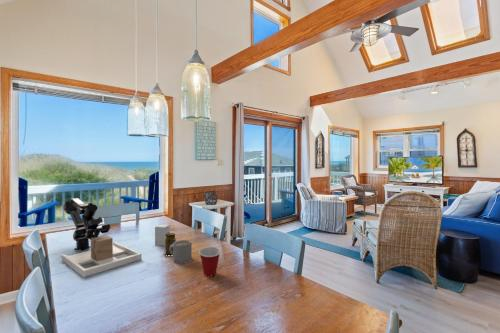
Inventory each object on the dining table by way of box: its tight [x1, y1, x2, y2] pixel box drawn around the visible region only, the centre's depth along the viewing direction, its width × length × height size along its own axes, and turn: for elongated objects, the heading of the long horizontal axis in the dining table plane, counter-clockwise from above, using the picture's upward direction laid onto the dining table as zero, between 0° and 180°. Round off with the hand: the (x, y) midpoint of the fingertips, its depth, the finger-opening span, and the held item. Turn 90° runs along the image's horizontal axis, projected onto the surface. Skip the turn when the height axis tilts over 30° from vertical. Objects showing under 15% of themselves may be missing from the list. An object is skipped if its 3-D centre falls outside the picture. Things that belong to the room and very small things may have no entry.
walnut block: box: [90, 234, 114, 261], centre depth 143 cm, size 9×8×11 cm
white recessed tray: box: [61, 241, 142, 278], centre depth 143 cm, size 34×29×3 cm
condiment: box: [163, 232, 177, 258], centre depth 152 cm, size 7×8×12 cm
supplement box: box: [154, 224, 171, 247], centre depth 170 cm, size 7×7×13 cm
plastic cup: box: [198, 246, 222, 277], centre depth 125 cm, size 11×11×12 cm
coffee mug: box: [170, 239, 193, 264], centre depth 144 cm, size 13×10×10 cm
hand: (96, 243), depth 147 cm, fingers closed
